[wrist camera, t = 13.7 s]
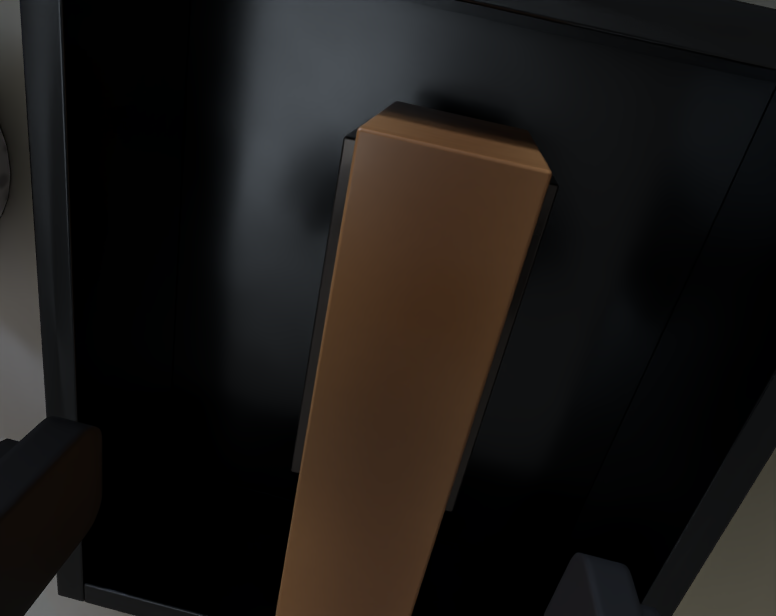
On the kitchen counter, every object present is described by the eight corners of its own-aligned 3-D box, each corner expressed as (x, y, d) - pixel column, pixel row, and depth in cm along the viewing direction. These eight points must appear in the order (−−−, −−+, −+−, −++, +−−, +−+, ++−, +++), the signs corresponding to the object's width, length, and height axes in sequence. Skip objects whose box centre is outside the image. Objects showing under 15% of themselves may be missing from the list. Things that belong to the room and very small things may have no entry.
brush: (303, 455, 20) (230, 629, 14) (366, 84, 15) (292, 112, 9) (447, 491, 20) (435, 683, 14) (562, 128, 14) (621, 186, 9)
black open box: (157, 464, 22) (57, 595, 17) (177, -86, 14) (7, -159, 9) (566, 569, 21) (595, 741, 16) (812, 53, 14) (1016, 60, 9)
